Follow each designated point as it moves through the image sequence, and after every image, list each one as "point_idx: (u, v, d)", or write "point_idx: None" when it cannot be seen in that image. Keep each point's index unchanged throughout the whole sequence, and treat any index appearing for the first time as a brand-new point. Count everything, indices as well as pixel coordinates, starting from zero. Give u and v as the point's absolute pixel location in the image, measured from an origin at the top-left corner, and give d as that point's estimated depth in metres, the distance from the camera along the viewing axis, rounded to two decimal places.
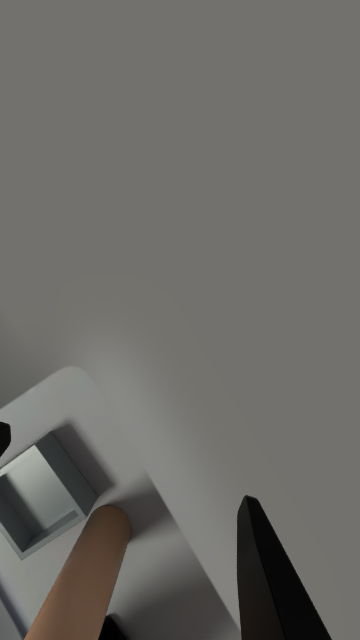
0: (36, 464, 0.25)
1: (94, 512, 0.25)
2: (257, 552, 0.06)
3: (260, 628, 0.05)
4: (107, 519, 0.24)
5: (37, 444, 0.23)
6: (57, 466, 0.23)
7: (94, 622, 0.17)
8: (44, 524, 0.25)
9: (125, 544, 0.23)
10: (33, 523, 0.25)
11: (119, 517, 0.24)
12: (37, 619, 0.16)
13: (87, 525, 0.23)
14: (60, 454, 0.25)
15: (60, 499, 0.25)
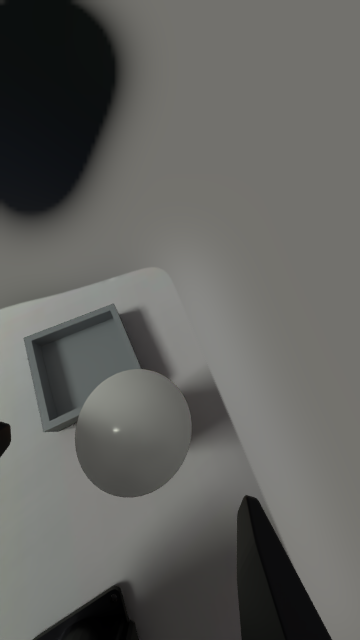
0: (96, 337, 0.24)
1: None
2: (257, 552, 0.06)
3: (260, 628, 0.05)
4: None
5: None
6: None
7: None
8: (79, 406, 0.21)
9: None
10: (65, 403, 0.21)
11: None
12: None
13: None
14: (125, 331, 0.24)
15: None
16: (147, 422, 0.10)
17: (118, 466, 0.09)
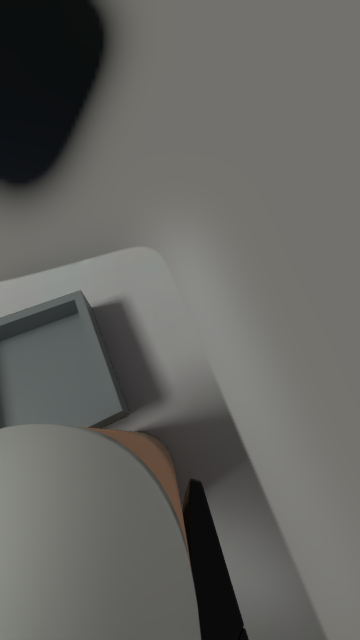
0: (55, 338, 0.16)
1: None
2: (186, 530, 0.06)
3: None
4: (149, 435, 0.13)
5: (82, 294, 0.17)
6: (96, 332, 0.16)
7: (180, 502, 0.07)
8: None
9: None
10: None
11: (164, 446, 0.14)
12: None
13: None
14: (98, 330, 0.17)
15: (69, 399, 0.15)
16: None
17: None
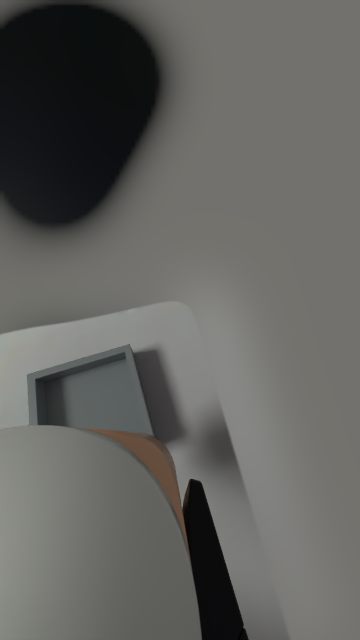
0: (106, 378, 0.21)
1: None
2: (187, 530, 0.06)
3: None
4: (149, 435, 0.13)
5: (130, 346, 0.21)
6: (139, 379, 0.20)
7: (180, 503, 0.07)
8: None
9: None
10: None
11: (165, 446, 0.14)
12: None
13: None
14: (138, 375, 0.22)
15: (115, 430, 0.19)
16: None
17: None
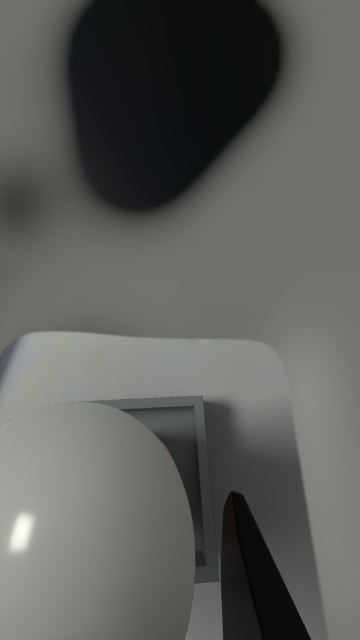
0: (160, 431, 0.16)
1: None
2: (238, 546, 0.06)
3: (239, 621, 0.05)
4: None
5: None
6: None
7: None
8: None
9: None
10: None
11: None
12: None
13: None
14: None
15: None
16: (82, 544, 0.04)
17: None
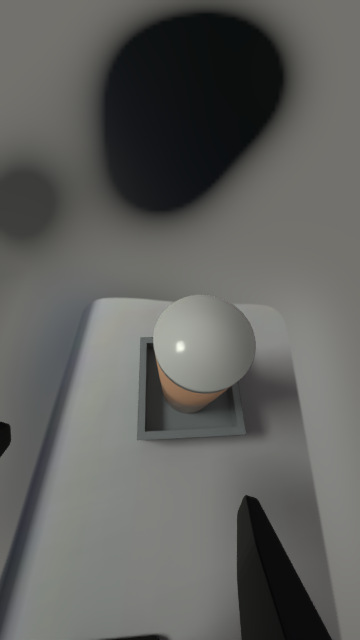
0: None
1: None
2: (257, 552, 0.06)
3: (260, 628, 0.05)
4: None
5: None
6: None
7: None
8: (168, 424, 0.21)
9: None
10: (156, 416, 0.21)
11: None
12: None
13: None
14: None
15: (204, 407, 0.21)
16: (215, 335, 0.11)
17: (194, 367, 0.10)
